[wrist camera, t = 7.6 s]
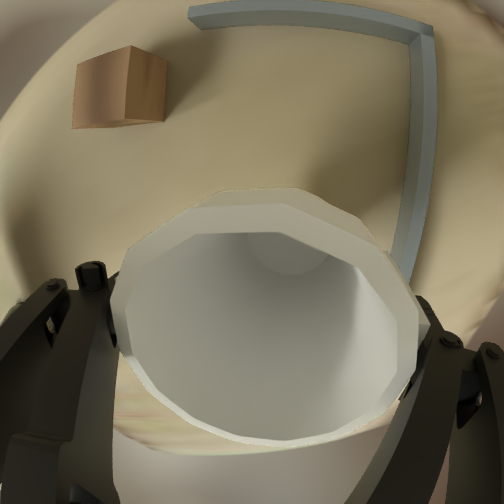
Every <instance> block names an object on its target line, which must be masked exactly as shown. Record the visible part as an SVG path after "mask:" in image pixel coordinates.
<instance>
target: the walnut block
mask: <svg viewBox="0 0 504 504" xmlns="http://www.w3.org/2000/svg"><path fill="white" fill-rule="evenodd" d="M167 68H168V61H165V60H163V59H161V58H159V57H157V56H155V55H152V54H150V53H148V52H146V51H143V50H141V49H139V48H136V47H134V46H132V45H131V46H127V47H124V48H121V49H118V50H115V51H112V52H109V53H106V54H103V55H100V56H97V57H95V58H92V59H90V60H87V61H85V62H82V63H80V64H78V65H77V73H76V81H75V91H74V103H73V121H72V129H82V128H115V127H122V126H129V125H137V124H146V123H156V122H164V110H165V93H166V80H167Z"/></svg>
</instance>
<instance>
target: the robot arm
mask: <svg viewBox="0 0 504 504" xmlns="http://www.w3.org/2000/svg"><path fill="white" fill-rule="evenodd" d="M383 252H384V253H385V255H386V256H387V257H388V259H389V260H390V262H391V263H392V265H393V266H394V268H395V269H396V271H397V272H398V274H399V276H400V278H401V279H402V281H403V283H404V285H405V286H406V288H407V290H408V292H409V294H410V295H411V297H412V299H413V301H414V303H415V305H416V307H417V309H418V310H419V326H418V348H417V361H416V370H415V372H414V373H413V375H412V376H411V378H410V381H409V383H408V384H407V386H406V388H405V389H404V391H403V393H402V394H401V396H400V397H399V399H398V400H400V403H399V406H398V408H397V410H396V412H395V415H394V417H393V419H392V421H391V424H390V426H389V428H388V430H387V432H386V434H385V436H384V438H383V440H382V442H381V444H380V446H379V448H378V450H377V452H376V453H375V455H374V457H373V459H372V461H371V462H370V464H369V466H368V468H367V469H366V471H365V473H364V475H363V476H362V478H361V479H360V481H359V482H358V484H357V486H356V487H355V489H354V490H353V492H352V493H351V495H350V496H349V498H348V499H347V501H346V502H345V503H344V504H428V503H429V501H430V498H431V496H432V493H433V491H434V488H435V486H436V483H437V480H438V477H439V474H440V471H441V468H442V465H443V462H444V459H445V455H446V452H447V448H448V444H449V441H450V455H449V473H448V484H447V493H446V500H445V504H504V352H503V350H502V349H501V348H500V347H499V346H498V345H496V344H495V343H491V342H484V343H482V344H481V346H480V348H479V350H478V351H477V352H475V351H472V350H468V349H465V348H464V346H463V342H462V341H461V339H460V338H459V337H458V336H457V335H455V334H453V333H451V332H449V331H445V330H444V329H443V327H442V325H441V324H440V322H439V320H438V318H437V316H435V313H434V311H433V310H432V308H431V306H430V305H429V303H428V302H427V301H426V300H425V299H424V298H423V297H421V296H417V295H414V293H413V291H412V290H411V288H410V286H409V285H408V283H407V281H406V280H405V278H404V276H403V275H402V273H401V271H400V270H399V268H398V266H397V265H396V263H395V262H394V260H393V259H392V257H391V255H390V254H389V252H388V251H383ZM75 272H76V276H77V281H78V285H79V289H78V290H68V287H67V283H66V281H65V280H64V279H57V278H54V279H50V280H49V281H47V282H45V283H44V284H42V285H41V286H40V287H39V288H38V289H37V290H36V291H35V292H34V293H33V294H32V295H31V296H30V297H29V298H28V299H27V300H26V301H25V302H24V303H23V304H21V303H17V304H16V305H15V306H13V307H12V308H11V309H10V310H9V311H8V313H7V314H6V316H5V318H4V319H3V321H2V322H1V324H0V484H1V483H2V487H1V490H0V504H120V500H119V496H118V493H117V491H116V488H115V486H114V483H113V469H112V438H113V413H114V398H115V386H116V376H117V367H118V359H119V351H120V350H119V346H118V341H117V336H116V332H115V327H114V322H113V316H112V310H111V305H110V298H111V295H112V292H113V289H114V286H115V283H116V280H117V277H118V275H119V271H118V272H117V273H115V274H114V275H113V276H111V277H110V278H109V279H108V278H107V272H106V266H105V264H104V263H103V262H100V261H91V262H86V263H83V264H81V265H79V266H77V267H76V268H75ZM48 319H50V322H51V324H52V327H53V329H52V331H49V330H48V327H47V325H46V322H47V320H48ZM481 396H482V402H481V405H480V403H479V399H480V397H481Z"/></svg>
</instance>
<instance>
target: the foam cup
mask: <svg viewBox="0 0 504 504" xmlns="http://www.w3.org/2000/svg"><path fill="white" fill-rule="evenodd" d="M110 305H111V310H112V316H113V322H114V327H115V332H116V336H117V341H118V346H119V350H120V351H121V353H122V354H123V356H124V357H125V359H126V361H127V362H128V364H129V365H130V367H131V368H132V370H133V371H134V373H135V374H136V376H137V377H138V378H139V380H140V381H141V383H142V384H143V385H144V387H145V388H146V390H147V391H148V392H149V393H150V394H152V395H153V396H154V397H155V398H157V399H158V400H159V401H160V402H162V403H163V404H164V405H165V406H167V407H168V408H169V409H171V410H172V411H173V412H174V413H176V414H177V415H178V416H180V417H181V418H183V419H184V420H185V421H187V422H188V423H190V424H193V425H195V426H197V427H199V428H202V429H204V430H207V431H209V432H212V433H214V434H217V435H219V436H222V437H224V438H227V439H230V440H233V441H236V442H241V443H248V444H255V445H264V446H274V447H287V448H289V447H296V446H303V445H309V444H314V443H320V442H325V441H330V440H334V439H339V438H341V437H343V436H345V435H347V434H349V433H351V432H353V431H355V430H356V429H358V428H360V427H362V426H364V425H365V424H367V423H369V422H370V421H372V420H374V419H375V418H377V417H379V416H380V415H382V414H384V413H385V412H386V411H387V409H388V408H389V407H390V406H391V404H392V403H393V402H394V400H395V399H396V398H397V396H398V395H399V393H400V392H401V391H402V389H403V388H404V386H405V385H406V383H407V382H408V381H409V379H410V378H411V376H412V375H413V373H414V372H415V370H416V361H417V348H418V326H419V310H418V309H417V307H416V305H415V303H414V301H413V299H412V297H411V295H410V294H409V292H408V290H407V288H406V286H405V285H404V283H403V281H402V279H401V278H400V276H399V274H398V272H397V271H396V269H395V268H394V266H393V265H392V263H391V262H390V260H389V259H388V257H387V256H386V255H385V253H384V252H383V250H382V249H381V247H380V246H379V245H378V243H377V242H376V240H375V239H374V238H373V236H372V235H371V234H370V232H369V231H368V230H367V228H366V227H365V226H364V224H363V223H362V222H361V220H360V219H359V218H358V217H356V216H354V215H352V214H349V213H347V212H345V211H343V210H341V209H339V208H337V207H335V206H333V205H331V204H328V203H327V202H325V201H324V200H323V199H321V198H320V197H318V196H316V195H313V194H311V193H309V192H307V191H304V190H302V189H300V188H293V187H285V188H262V189H245V190H230V191H220V192H218V193H216V194H214V195H212V196H210V197H208V198H206V199H204V200H202V201H200V202H198V203H196V204H194V205H192V206H191V207H189V208H187V209H185V210H184V211H182V212H181V213H179V214H178V215H176V216H175V217H173V218H172V219H170V220H169V221H167V222H166V223H164V224H163V225H161V226H160V227H158V228H157V229H156V230H154V231H153V232H151V233H150V234H148V235H147V236H145V237H144V238H143V239H141V240H140V241H138V242H137V243H136V244H134V245H133V246H131V247H130V248H129V249H128V251H127V253H126V256H125V258H124V261H123V264H122V266H121V269H120V272H119V275H118V277H117V280H116V283H115V286H114V289H113V292H112V295H111V298H110Z"/></svg>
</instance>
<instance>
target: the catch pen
mask: <svg viewBox="0 0 504 504" xmlns="http://www.w3.org/2000/svg"><path fill="white" fill-rule="evenodd" d="M187 18H188V19H189V20H190V21H191V22H193V23H194V24H195V25H196V26H197V27H198V28H199V29H201V30H204V29H212V28H222V27H234V26H252V25H289V26H307V27H319V28H328V29H337V30H344V31H350V32H356V33H362V34H367V35H372V36H377V37H381V38H385V39H390V40H393V41H397V42H401V43H405V44H408V45H409V52H410V76H411V104H410V128H409V142H408V154H407V163H406V172H405V180H404V187H403V194H402V200H401V206H400V212H399V217H398V223H397V228H396V233H395V237H394V242H393V247H392V251H391V257H392V259H393V260H394V262H395V263H396V265H397V266H398V268H399V270H400V271H401V273H402V275H403V276H404V278H405V280H406V281H407V283H408V285H409V282H410V278H411V275H412V271H413V268H414V264H415V261H416V257H417V253H418V249H419V245H420V241H421V237H422V232H423V228H424V223H425V218H426V213H427V208H428V202H429V196H430V190H431V183H432V176H433V168H434V159H435V148H436V135H437V111H438V88H437V65H436V52H435V43H434V34H433V27H432V26H430V25H427V24H425V23H422V22H419V21H416V20H412V19H409V18H406V17H402V16H399V15H395V14H391V13H387V12H383V11H379V10H375V9H370V8H365V7H360V6H354V5H348V4H341V3H333V2H325V1H314V0H239V1H228V2H219V3H211V4H205V5H198V6H193V7H189V11H188V17H187Z"/></svg>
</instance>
